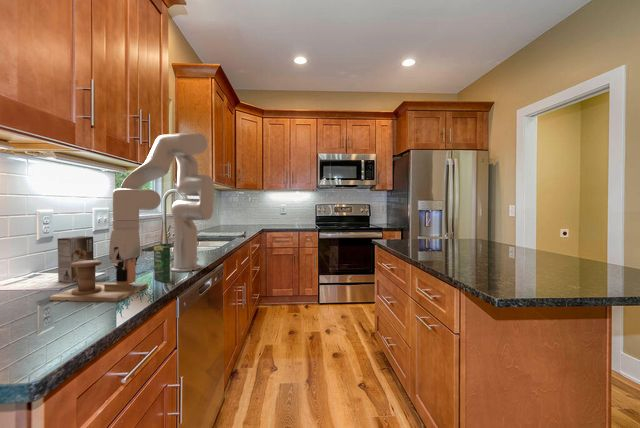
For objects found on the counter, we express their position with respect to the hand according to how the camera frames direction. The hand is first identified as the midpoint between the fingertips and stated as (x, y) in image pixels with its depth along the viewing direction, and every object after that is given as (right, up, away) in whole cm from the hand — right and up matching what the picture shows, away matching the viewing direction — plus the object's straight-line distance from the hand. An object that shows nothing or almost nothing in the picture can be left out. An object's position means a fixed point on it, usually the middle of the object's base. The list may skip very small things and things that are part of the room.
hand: (126, 278), depth 106 cm
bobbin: (-8, -3, -7) cm, 11 cm away
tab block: (0, -1, 0) cm, 1 cm away
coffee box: (-27, -3, +13) cm, 30 cm away
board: (-5, -4, -4) cm, 7 cm away
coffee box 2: (+5, -4, +14) cm, 15 cm away
